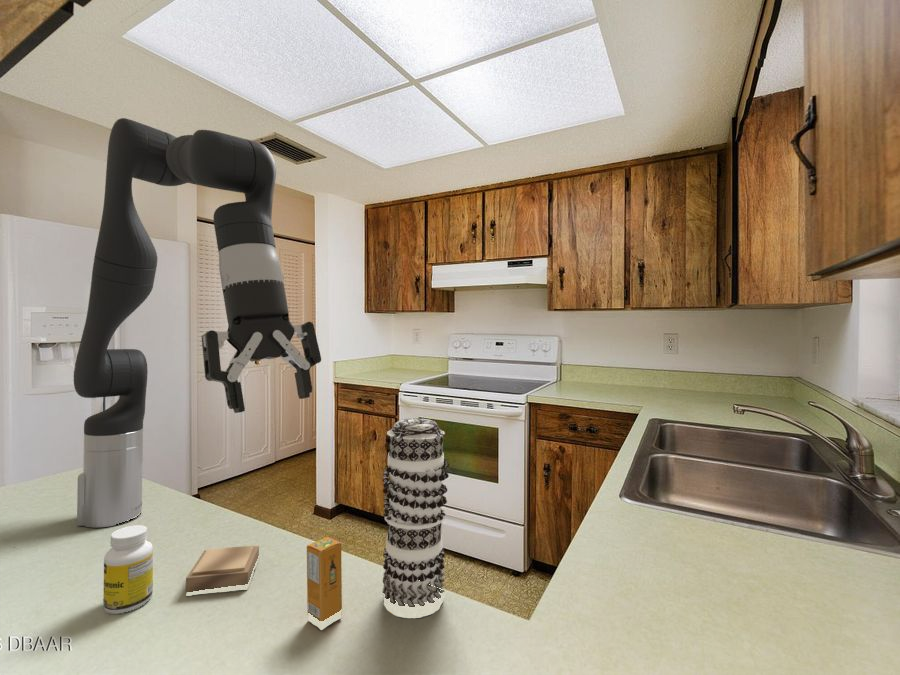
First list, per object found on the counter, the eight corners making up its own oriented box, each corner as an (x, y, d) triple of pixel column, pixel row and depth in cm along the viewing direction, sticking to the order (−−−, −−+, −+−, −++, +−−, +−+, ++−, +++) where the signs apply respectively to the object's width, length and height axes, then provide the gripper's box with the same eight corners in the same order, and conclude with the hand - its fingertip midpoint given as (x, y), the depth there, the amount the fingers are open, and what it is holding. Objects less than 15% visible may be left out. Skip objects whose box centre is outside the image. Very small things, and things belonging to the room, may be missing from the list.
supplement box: (326, 608, 59) (328, 534, 59) (342, 619, 57) (343, 542, 57) (304, 620, 56) (306, 543, 56) (320, 632, 54) (321, 552, 54)
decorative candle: (454, 614, 58) (458, 426, 58) (384, 626, 55) (388, 429, 55) (437, 577, 67) (440, 414, 67) (376, 586, 64) (379, 416, 64)
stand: (185, 596, 61) (186, 575, 61) (204, 567, 69) (204, 547, 69) (247, 590, 63) (247, 569, 63) (258, 561, 70) (259, 543, 70)
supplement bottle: (94, 607, 58) (95, 534, 58) (139, 587, 63) (140, 519, 63) (116, 620, 56) (117, 544, 56) (161, 598, 60) (162, 527, 60)
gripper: (293, 289, 66) (311, 395, 65) (186, 292, 56) (206, 418, 55) (316, 276, 60) (335, 393, 59) (200, 277, 50) (223, 417, 50)
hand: (273, 404), depth 57 cm, fingers open, 8 cm apart
